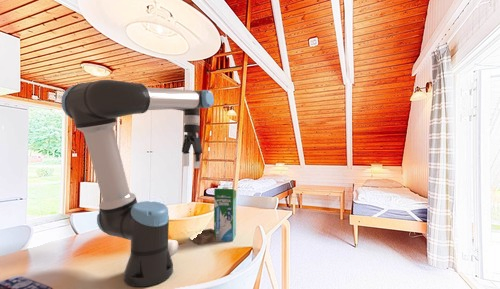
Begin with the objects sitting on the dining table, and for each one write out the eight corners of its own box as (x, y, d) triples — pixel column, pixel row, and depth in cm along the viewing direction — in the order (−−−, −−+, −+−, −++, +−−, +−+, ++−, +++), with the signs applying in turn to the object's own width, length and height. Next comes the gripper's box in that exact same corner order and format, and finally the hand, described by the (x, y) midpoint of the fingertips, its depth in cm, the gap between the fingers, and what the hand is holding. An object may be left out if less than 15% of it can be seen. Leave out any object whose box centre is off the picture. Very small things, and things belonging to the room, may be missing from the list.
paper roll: (179, 240, 103) (154, 237, 106) (171, 239, 97) (146, 236, 101) (176, 256, 101) (151, 252, 104) (168, 256, 95) (142, 252, 99)
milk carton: (235, 235, 123) (236, 185, 123) (232, 242, 114) (233, 188, 114) (218, 234, 124) (218, 185, 124) (213, 241, 115) (214, 188, 115)
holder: (198, 245, 109) (198, 239, 109) (188, 238, 117) (188, 232, 117) (224, 238, 118) (224, 232, 118) (214, 232, 125) (214, 227, 126)
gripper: (209, 123, 113) (209, 168, 113) (189, 126, 134) (188, 165, 133) (194, 122, 109) (194, 169, 109) (175, 125, 129) (175, 165, 129)
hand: (191, 167), depth 121 cm, fingers open, 13 cm apart
